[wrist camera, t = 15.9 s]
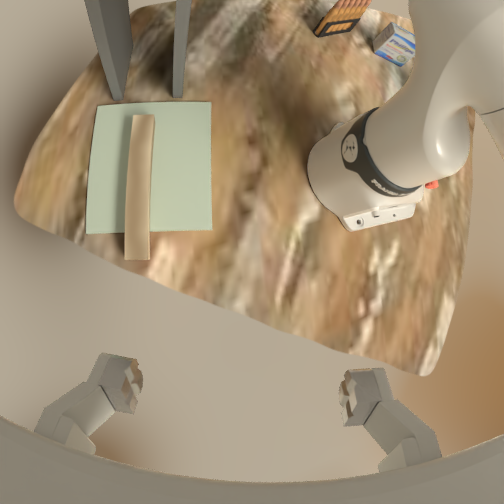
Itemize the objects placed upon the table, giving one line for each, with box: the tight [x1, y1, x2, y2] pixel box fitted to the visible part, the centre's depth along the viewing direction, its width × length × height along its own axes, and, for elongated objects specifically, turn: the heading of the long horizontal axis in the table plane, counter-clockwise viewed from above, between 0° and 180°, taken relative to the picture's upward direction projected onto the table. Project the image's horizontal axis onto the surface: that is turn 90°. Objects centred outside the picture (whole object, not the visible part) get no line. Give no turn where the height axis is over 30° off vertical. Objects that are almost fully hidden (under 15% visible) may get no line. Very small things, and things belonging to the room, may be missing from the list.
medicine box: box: [372, 22, 415, 66], centre depth 49 cm, size 8×4×9 cm, turn 82°
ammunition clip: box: [313, 0, 371, 38], centre depth 44 cm, size 11×2×12 cm, turn 124°
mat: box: [86, 102, 212, 234], centre depth 40 cm, size 18×20×1 cm
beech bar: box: [125, 114, 155, 260], centre depth 38 cm, size 3×20×3 cm, turn 2°
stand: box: [85, 0, 192, 101], centre depth 28 cm, size 11×12×26 cm
